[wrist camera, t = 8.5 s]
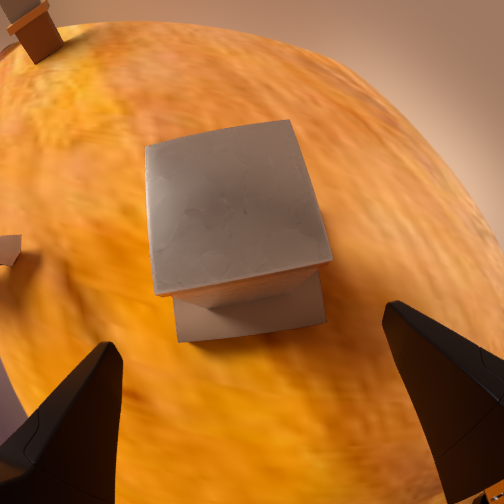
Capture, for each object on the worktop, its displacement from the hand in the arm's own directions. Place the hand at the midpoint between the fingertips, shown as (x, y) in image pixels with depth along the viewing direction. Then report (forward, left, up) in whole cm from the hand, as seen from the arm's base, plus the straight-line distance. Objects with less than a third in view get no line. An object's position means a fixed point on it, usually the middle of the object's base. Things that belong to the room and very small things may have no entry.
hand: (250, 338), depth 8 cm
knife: (+60, +13, -13) cm, 63 cm away
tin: (+4, -2, -10) cm, 11 cm away
